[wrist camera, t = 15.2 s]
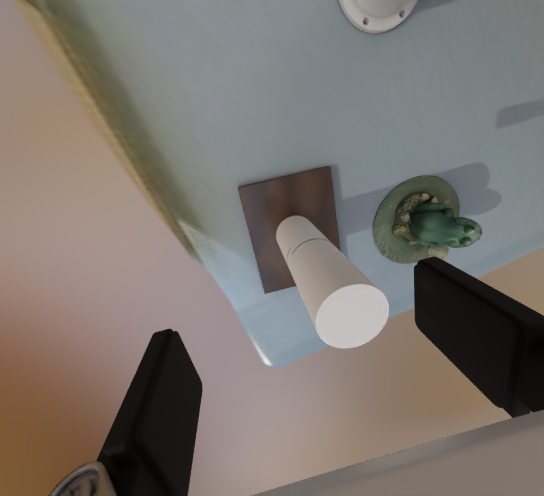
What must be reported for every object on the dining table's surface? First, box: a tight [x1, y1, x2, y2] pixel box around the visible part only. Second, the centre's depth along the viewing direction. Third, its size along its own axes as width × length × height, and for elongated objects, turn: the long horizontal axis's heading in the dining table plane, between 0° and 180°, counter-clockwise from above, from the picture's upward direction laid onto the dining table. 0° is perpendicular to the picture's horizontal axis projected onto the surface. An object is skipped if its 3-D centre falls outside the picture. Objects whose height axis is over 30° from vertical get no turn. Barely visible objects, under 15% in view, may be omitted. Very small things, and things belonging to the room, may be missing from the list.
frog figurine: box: [373, 176, 482, 263], centre depth 46 cm, size 18×18×12 cm
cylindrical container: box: [276, 216, 389, 348], centre depth 36 cm, size 7×7×25 cm
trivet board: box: [238, 166, 340, 294], centre depth 48 cm, size 16×21×2 cm
